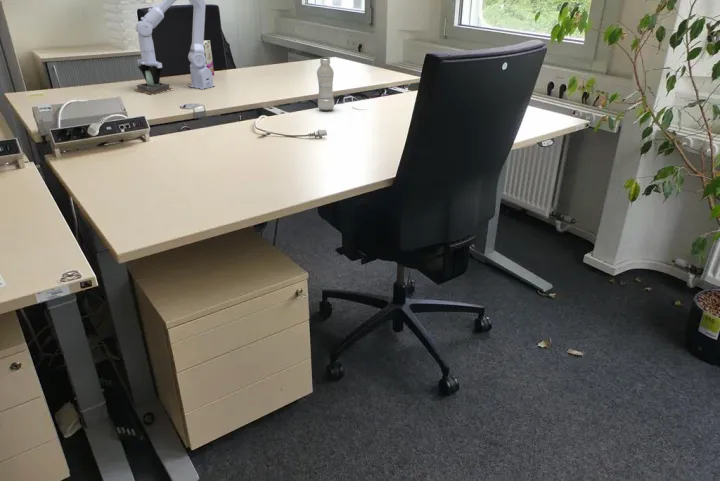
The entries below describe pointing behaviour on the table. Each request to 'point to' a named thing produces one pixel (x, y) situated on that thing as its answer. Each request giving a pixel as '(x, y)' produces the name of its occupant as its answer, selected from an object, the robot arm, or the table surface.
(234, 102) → the table surface
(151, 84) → the roll
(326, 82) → the plastic bottle
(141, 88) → the holder
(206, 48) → the candy bar box
